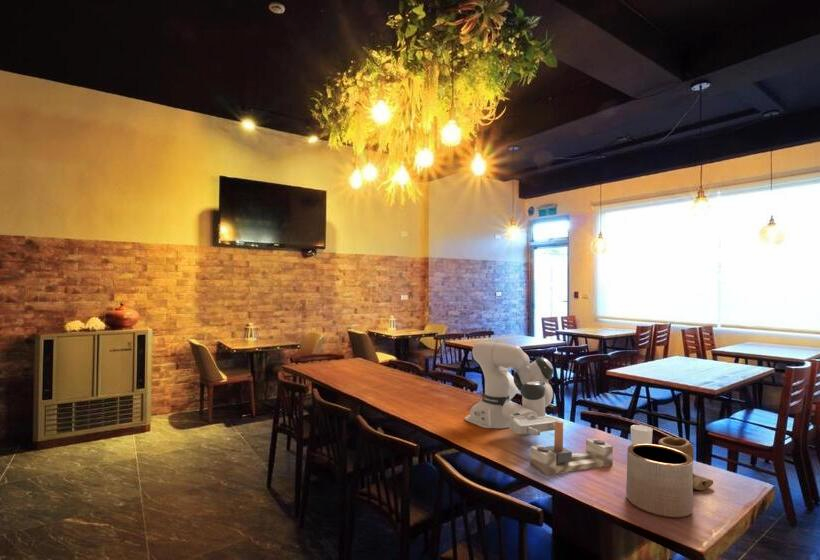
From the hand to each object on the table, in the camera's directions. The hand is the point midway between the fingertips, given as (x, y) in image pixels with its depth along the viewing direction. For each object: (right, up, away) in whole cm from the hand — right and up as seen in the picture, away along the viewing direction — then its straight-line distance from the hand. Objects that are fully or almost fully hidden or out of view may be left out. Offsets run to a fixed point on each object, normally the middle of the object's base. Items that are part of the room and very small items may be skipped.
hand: (549, 431), depth 168 cm
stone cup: (+39, -11, -19) cm, 45 cm away
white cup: (+40, -12, +9) cm, 43 cm away
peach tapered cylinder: (+1, -8, -7) cm, 11 cm away
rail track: (+7, -10, -5) cm, 14 cm away
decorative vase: (-1, -12, +80) cm, 81 cm away
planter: (+23, -11, -34) cm, 42 cm away
